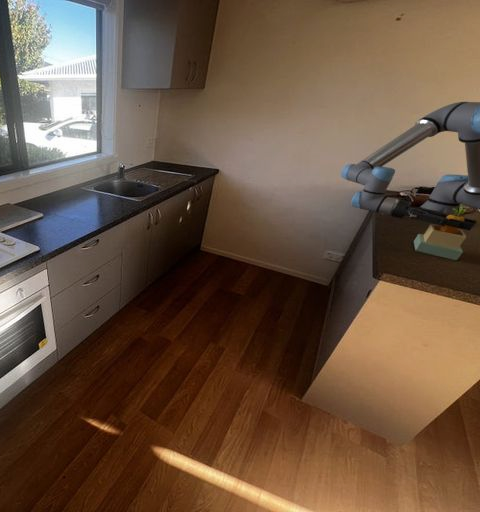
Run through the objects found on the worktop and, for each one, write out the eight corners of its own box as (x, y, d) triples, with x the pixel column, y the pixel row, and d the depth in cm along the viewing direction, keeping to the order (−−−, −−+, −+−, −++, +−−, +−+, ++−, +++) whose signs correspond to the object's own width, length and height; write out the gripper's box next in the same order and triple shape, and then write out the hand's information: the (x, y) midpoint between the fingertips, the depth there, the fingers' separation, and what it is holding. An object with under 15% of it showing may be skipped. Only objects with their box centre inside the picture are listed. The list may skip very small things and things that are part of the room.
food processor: (413, 240, 130) (425, 221, 126) (452, 249, 123) (466, 229, 119) (415, 250, 122) (428, 230, 117) (456, 260, 115) (472, 239, 110)
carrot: (445, 244, 117) (469, 209, 110) (429, 239, 121) (451, 205, 114) (451, 242, 119) (475, 208, 112) (434, 237, 123) (457, 204, 116)
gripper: (396, 212, 135) (471, 229, 118) (384, 219, 126) (462, 239, 109) (405, 196, 131) (483, 212, 115) (393, 203, 122) (476, 221, 106)
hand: (473, 225), depth 112 cm, fingers closed on carrot, 5 cm apart
